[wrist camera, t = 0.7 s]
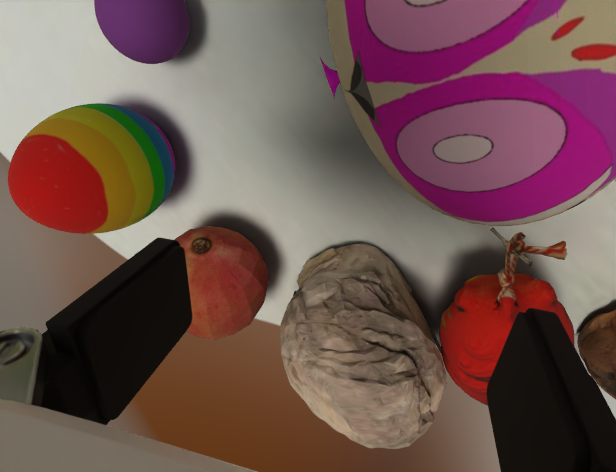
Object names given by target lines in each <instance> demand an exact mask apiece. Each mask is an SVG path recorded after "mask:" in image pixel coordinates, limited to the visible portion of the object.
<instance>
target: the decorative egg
mask: <svg viewBox="0 0 616 472" xmlns="http://www.w3.org/2000/svg"><path fill="white" fill-rule="evenodd" d="M174 177H175V158H174V153H173V150H172V147H171V145H170V143H169V141H168V139H167V138H166V136H165V135H164V133H163V132H162V131H161V130H160V129H159V127H158V126H156V125H155V124H154V123H153V122H152V121H151V120H149V119H148V118H146V117H145V116H143V115H142V114H140V113H138V112H136V111H133V110H131V109H128V108H125V107H122V106H117V105H112V104H87V105H80V106H75V107H71V108H69V109H66V110H63V111H60V112H58V113H56V114H54V115H52V116H50V117H48V118H47V119H45V120H44V121H42V122H41V123H39V124H38V125H37V126H36V127H34V128H33V129H32V130H31V131H30V132H29V133H28V134H27V135H26V136H25V137H24V139H23V140H22V141H21V143H20V144H19V146H18V147H17V149H16V151H15V153H14V155H13V157H12V160H11V163H10V167H9V172H8V185H9V190H10V194H11V196H12V198H13V200H14V202H15V203H16V205H17V206H18V207H19V209H20V210H21V211H22V212H23V213H25V214H26V215H27V216H28V217H30V218H31V219H33V220H34V221H36V222H38V223H40V224H42V225H45V226H47V227H50V228H53V229H57V230H60V231H65V232H71V233H82V234H93V233H103V232H109V231H114V230H118V229H121V228H124V227H127V226H130V225H132V224H135V223H137V222H139V221H140V220H142V219H144V218H145V217H147V216H149V215H150V214H151V213H152V212H153V211H155V210H156V209H157V208H158V207H159V206H160V205H161V204H162V202H163V201H164V200H165V198H166V197H167V195H168V194H169V192H170V190H171V187H172V185H173V181H174Z"/></svg>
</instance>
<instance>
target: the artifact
mask: <svg viewBox="0 0 616 472" xmlns="http://www.w3.org/2000/svg"><path fill="white" fill-rule="evenodd" d="M578 348H579V352H580V356H581V358H582V359H583V361H584V362H585V365H586V367H587V370H588V372H589V373H590V374H591V376H592V377H593V378H594V379H595V381H596V382H597V384H598V385H599V386H600V387H601V388H602V389H603V390H604V391H606V392H607V393H608V394H609V395H611V396H612V397H613V398H615V399H616V309H615V310H614V311H612V312H609V313H602V314H600V315H598V316H596V317H594V318H593V319H591V320H590V321H589V322H588V323H586V325H585V326H584V328H583V329H582V330H581V332H580V334H579V335H578Z"/></svg>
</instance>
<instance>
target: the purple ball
mask: <svg viewBox="0 0 616 472" xmlns="http://www.w3.org/2000/svg"><path fill="white" fill-rule="evenodd" d="M95 12H96V17H97V20H98V23H99V26H100V28H101V30H102V32H103V34H104V35H105V37H106V38H107V39H108V41H109V42H110V43H111V44H112V45H113V47H114V48H116V49H117V50H118V51H119V52H120V53H122V54H123V55H125V56H126V57H128V58H130V59H132V60H135V61H138V62H141V63H146V64H157V63H162V62H165V61H168V60H170V59H172V58H173V57H174V56H176V55H177V54H178V53H179V52H180V51H181V50H182V48H183V47H184V45H185V43H186V40H187V37H188V33H189V14H188V9H187V6H186V3H185V1H184V0H95Z"/></svg>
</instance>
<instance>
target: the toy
mask: <svg viewBox="0 0 616 472" xmlns="http://www.w3.org/2000/svg"><path fill="white" fill-rule="evenodd" d="M326 4H327V17H328V26H329V34H330V41H331V46H332V51H333V56H334V61H335V65H336V69H337V71H334V70H332V69H330V68H329V67H327V66H326V65H325V64H324V63H323V61H322V59H321V61H322V64H323V68H324V71H325V74H326V77H327V80H328V83H329V86H330V88H331V91H332V93H333V96H335V92H336V89H337V87H338V85H339V83H340V84H341V87H342V90H343V92H344V95H345V98H346V101H347V103H348V106H349V108H350V111H351V113H352V115H353V117H354V119H355V122H356V124H357V126H358V128H359V130H360V131H361V133H362V135H363V137H364V139H365V140H366V142H367V144H368V145H369V147H370V149H371V150H372V152H373V153H374V155H375V156H376V158H377V159H378V160H379V161H380V163H381V164H382V165H383V167H384V168H385V169H386V170H387V172H388V173H389V174H390V175H391V176H392V177H393V178H394V179H395V180H396V181H397V182H398V183H399V184H400V185H401V186H402V187H403V188H404V189H405V190H407V191H408V192H409V193H410V194H412V195H413V196H414V197H416V198H417V199H418V200H419V201H421V202H423V203H424V204H426V205H427V206H429V207H431V208H432V209H434V210H436V211H438V212H441V213H443V214H445V215H448V216H450V217H453V218H456V219H458V220H462V221H466V222H470V223H473V224H481V225H488V226H511V225H520V224H527V223H531V222H535V221H539V220H543V219H546V218H549V217H552V216H554V215H557V214H560V213H562V212H564V211H566V210H568V209H570V208H573V207H575V206H577V205H579V204H580V203H582V202H583V201H585V200H587V199H588V198H590V197H592V196H593V195H595V194H596V193H597V192H599V191H600V190H602V189H603V188H604V187H606V186H607V185H608V184H610V183H611V182H612V181H613V180H614V179H615V178H616V0H326ZM320 58H321V57H320Z"/></svg>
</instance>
